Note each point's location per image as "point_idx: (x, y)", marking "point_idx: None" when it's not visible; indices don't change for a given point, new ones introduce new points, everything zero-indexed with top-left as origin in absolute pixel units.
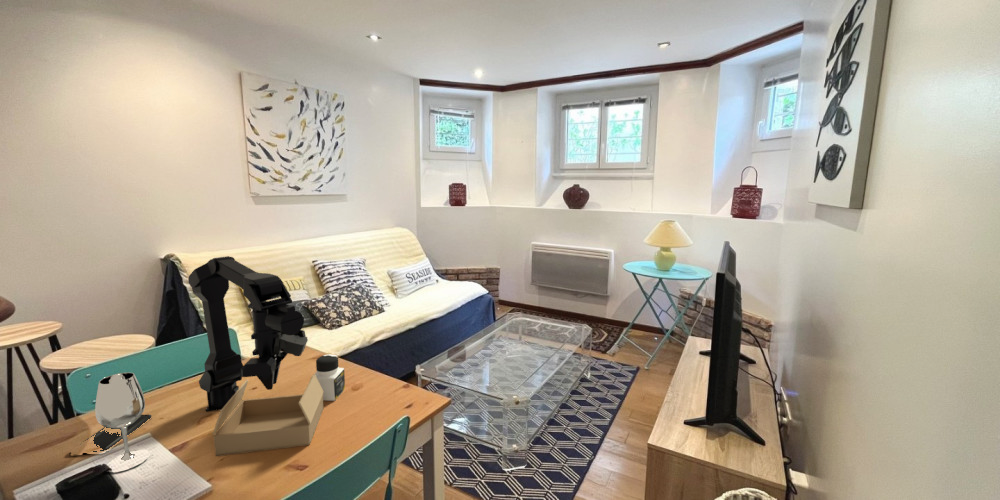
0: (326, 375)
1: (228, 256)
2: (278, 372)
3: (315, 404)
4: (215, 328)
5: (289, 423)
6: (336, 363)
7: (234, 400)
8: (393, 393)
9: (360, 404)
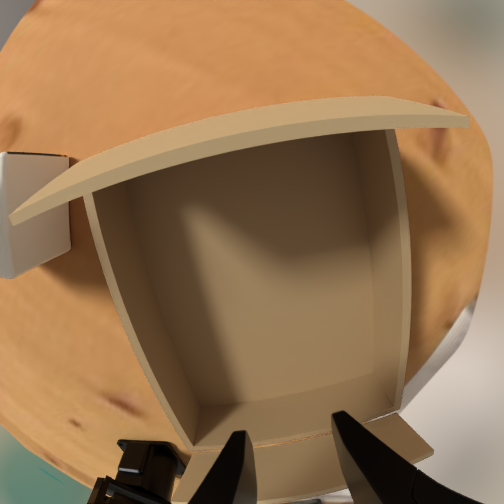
0: None
1: None
2: (196, 490)
3: (241, 112)
4: None
5: (232, 253)
6: None
7: (299, 475)
8: (58, 7)
9: (98, 55)
